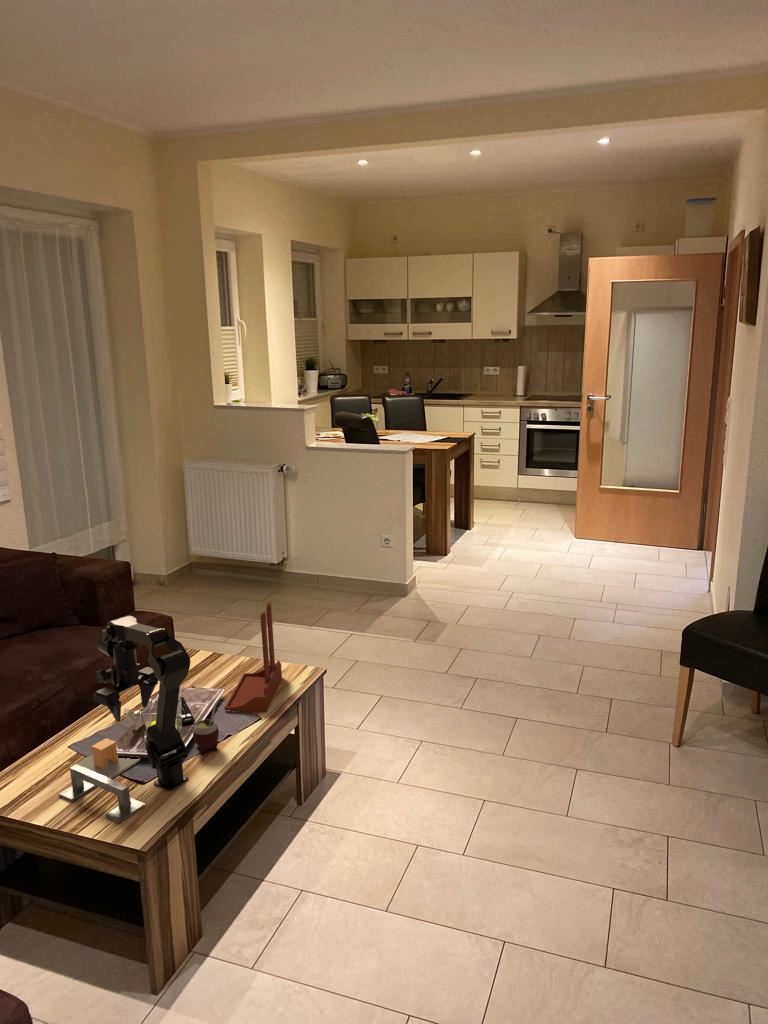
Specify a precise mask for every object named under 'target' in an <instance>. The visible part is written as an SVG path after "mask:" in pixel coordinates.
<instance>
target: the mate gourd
mask: <svg viewBox="0 0 768 1024" xmlns="http://www.w3.org/2000/svg"><path fill="white" fill-rule="evenodd" d="M222 698H223V695H221V696H220V697H219V698H218V699H217V700H216V701H215V703H214V704H213V707H212V711H211V712H212V713H211V716H210V719H202V720H200V721H197V722H196V724H195V725H194V726H193V731H192V738H193V741H194V742H195V744H196V749H197V750H200V751H201V752H200V755H201V756H205V755H206V753H207V752H218V750H219V748H217V747H218V741H219V733H220V731H219V728H218V724H217V723H216V722H215V721H214V715H215V711H216V709H217V705H218V703H219V702H220V700H221V699H222Z"/></svg>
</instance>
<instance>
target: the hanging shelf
mask: <svg viewBox="0 0 768 1024" xmlns="http://www.w3.org/2000/svg"><path fill="white" fill-rule="evenodd" d="M265 609H266V610H265V611H266V612H265V611H262V612H261V614H260V627H261V641H262V642H261V644H262V658H263V669H261V670H259V671H255V672H250V673H249V672H248V673H247V672H246V673H243V674H242V675H241V677H240V679H239V681H238V683H237V684H236V686H235V688H234V690H233V692H232V693H231V695H230V697H229V699H228V701H227V703H226V704H225V706H224V711H225V710H227V711H228V710H230V711H240V712H239V713H267V712H268V710H269V708H270V706H271V704H272V700H273V698H274V696H275V694H276V692H277V689H278V688H279V685H280V682H281V681H282V678H283V674H282V673H283V672H282V663H281V661H280V660H277V661H275V660H276V658H275V646H274V645H275V644H274V629H273V627H274V626H273V614H272V612H273V611H272V604H271V602H267V604H266V608H265Z"/></svg>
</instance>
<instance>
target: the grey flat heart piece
mask: <svg viewBox="0 0 768 1024" xmlns="http://www.w3.org/2000/svg"><path fill="white" fill-rule="evenodd" d="M122 713H123V716H124V717H125V719H126V720H127V721H128V722H130V723H131V724H130V725H131V726H132V725H133V724H134V723H136V722H137V721H139V720H140V715H141V710H140V709H136V710H135V711H134V712H132V710H131V709H128V708H125V709H124V710H123V712H122Z"/></svg>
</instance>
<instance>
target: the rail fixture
mask: <svg viewBox="0 0 768 1024" xmlns="http://www.w3.org/2000/svg"><path fill="white" fill-rule="evenodd" d="M75 764H76V763H75ZM73 765H74V764H73ZM73 765H71V766H72V767H69V771H70V772H69V773H70V780H71V786H69V787H67V788H66V789H64V790H62V791H61V792H59V793H58V795H59V796H58V797H60V798H62V799H64V800H66V801H68V802H71V803H73V802H74V801H76V800H77V799H79V798H80V797H82V796H84V795H86V794H87V793H89V792H90V791H92V790H93V789H96V788H100V789H102V790H104V791H107V792H109V793H111V794H114V795H116V796H117V801H118V803H117V804H118V806H117V807H115V808H114V809H112V810H110V811H109V812H107V813H106V814H105V816H104V817H105V819H107V820H110V821H112V822H114V823H116V824H118V825H121V824H122V823H123V822H125V821H126V820H128V819H129V818H130V817H133V815H134V814H137V813H138V812H139V811H141V810H142V809H144V808H145V807H146V804H145V803H144V802H142V801H139V800H137V799H135V798H133V797H131V795H130V794H131V793H130V788H129V787H130V786H129V785H127V784H125V783H122V782H120V781H117V780H115V779H114V778H112V779H110V778H108V777H106V776H103V775H101V774H98V773H96V772H94V771H91V770H89V769H87V768H84V767H82V766H79V765H77V764H76V765H74V766H73ZM121 822H122V823H121Z"/></svg>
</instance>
